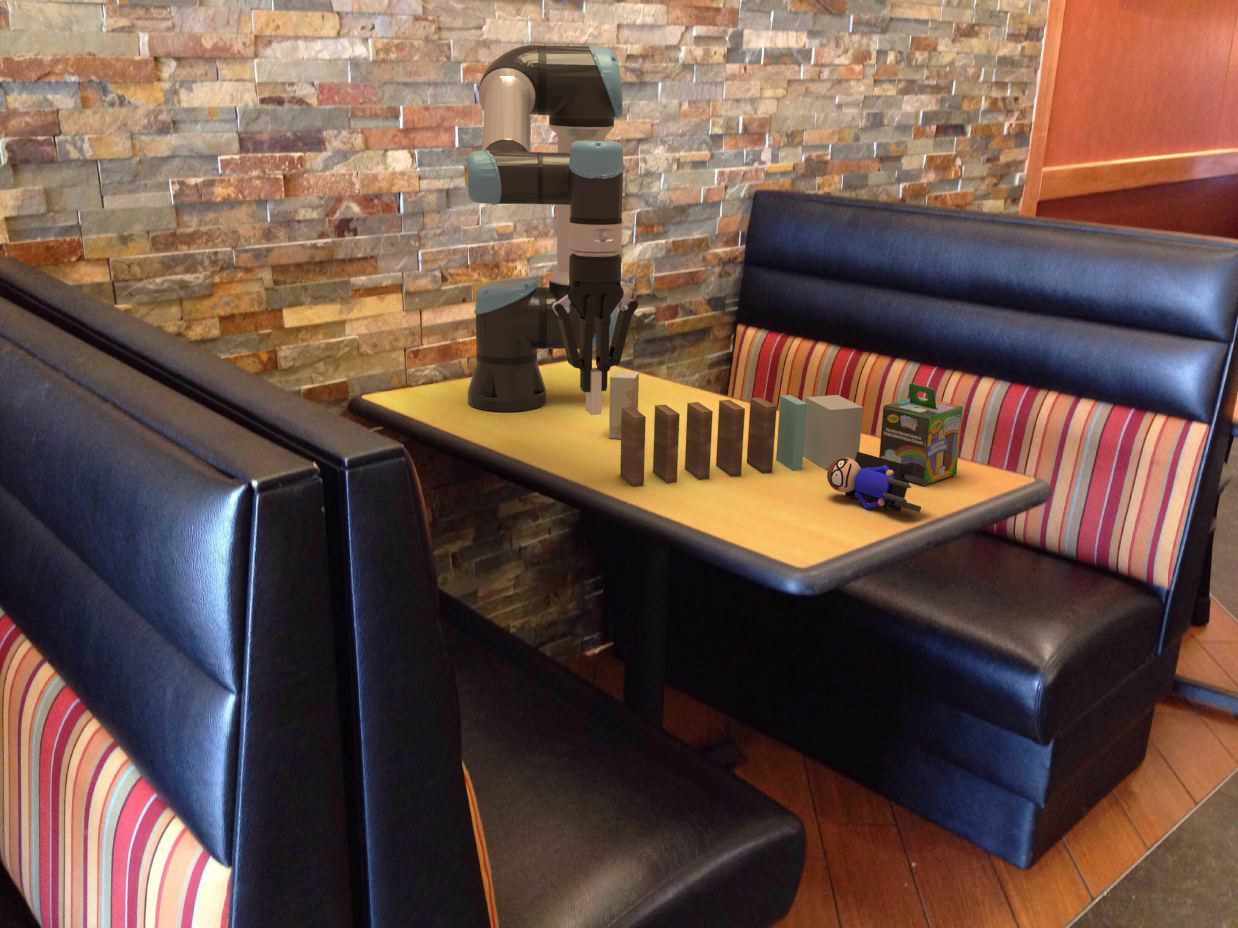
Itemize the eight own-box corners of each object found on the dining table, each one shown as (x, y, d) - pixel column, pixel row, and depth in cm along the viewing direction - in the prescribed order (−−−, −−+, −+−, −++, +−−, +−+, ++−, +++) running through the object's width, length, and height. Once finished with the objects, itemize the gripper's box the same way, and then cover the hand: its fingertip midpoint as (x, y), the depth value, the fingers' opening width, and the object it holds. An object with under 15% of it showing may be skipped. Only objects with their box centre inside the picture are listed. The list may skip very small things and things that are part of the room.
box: (632, 440, 190) (634, 378, 187) (608, 438, 191) (609, 376, 188) (638, 432, 195) (639, 371, 192) (614, 430, 196) (615, 369, 192)
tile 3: (698, 480, 171) (701, 412, 168) (684, 469, 176) (687, 402, 173) (709, 479, 172) (712, 411, 168) (694, 468, 177) (697, 402, 173)
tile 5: (762, 473, 175) (766, 407, 171) (746, 463, 180) (750, 398, 176) (772, 472, 175) (776, 406, 172) (756, 462, 180) (760, 397, 177)
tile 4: (730, 476, 173) (734, 409, 170) (715, 466, 178) (719, 400, 175) (741, 475, 174) (745, 408, 170) (725, 465, 179) (729, 399, 175)
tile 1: (632, 486, 168) (634, 417, 164) (620, 475, 173) (621, 408, 169) (643, 485, 168) (645, 416, 165) (630, 474, 173) (632, 407, 170)
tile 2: (666, 483, 169) (668, 414, 166) (652, 472, 174) (654, 405, 171) (676, 482, 170) (679, 413, 167) (663, 471, 175) (665, 404, 172)
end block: (801, 455, 184) (805, 397, 181) (832, 451, 186) (837, 394, 183) (825, 469, 177) (830, 410, 174) (857, 466, 179) (863, 407, 176)
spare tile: (792, 470, 177) (797, 404, 173) (775, 460, 182) (780, 395, 178) (802, 469, 177) (807, 403, 174) (785, 459, 182) (790, 395, 179)
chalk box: (957, 476, 176) (968, 386, 171) (923, 487, 170) (934, 395, 165) (909, 461, 182) (918, 374, 178) (874, 472, 177) (883, 382, 172)
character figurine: (905, 528, 155) (819, 500, 165) (934, 512, 159) (848, 486, 170) (908, 476, 152) (820, 451, 162) (937, 462, 156) (850, 439, 167)
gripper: (559, 257, 152) (558, 422, 159) (647, 255, 156) (643, 415, 163) (544, 251, 158) (544, 409, 165) (628, 249, 163) (625, 403, 170)
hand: (593, 412), depth 164 cm, fingers closed
